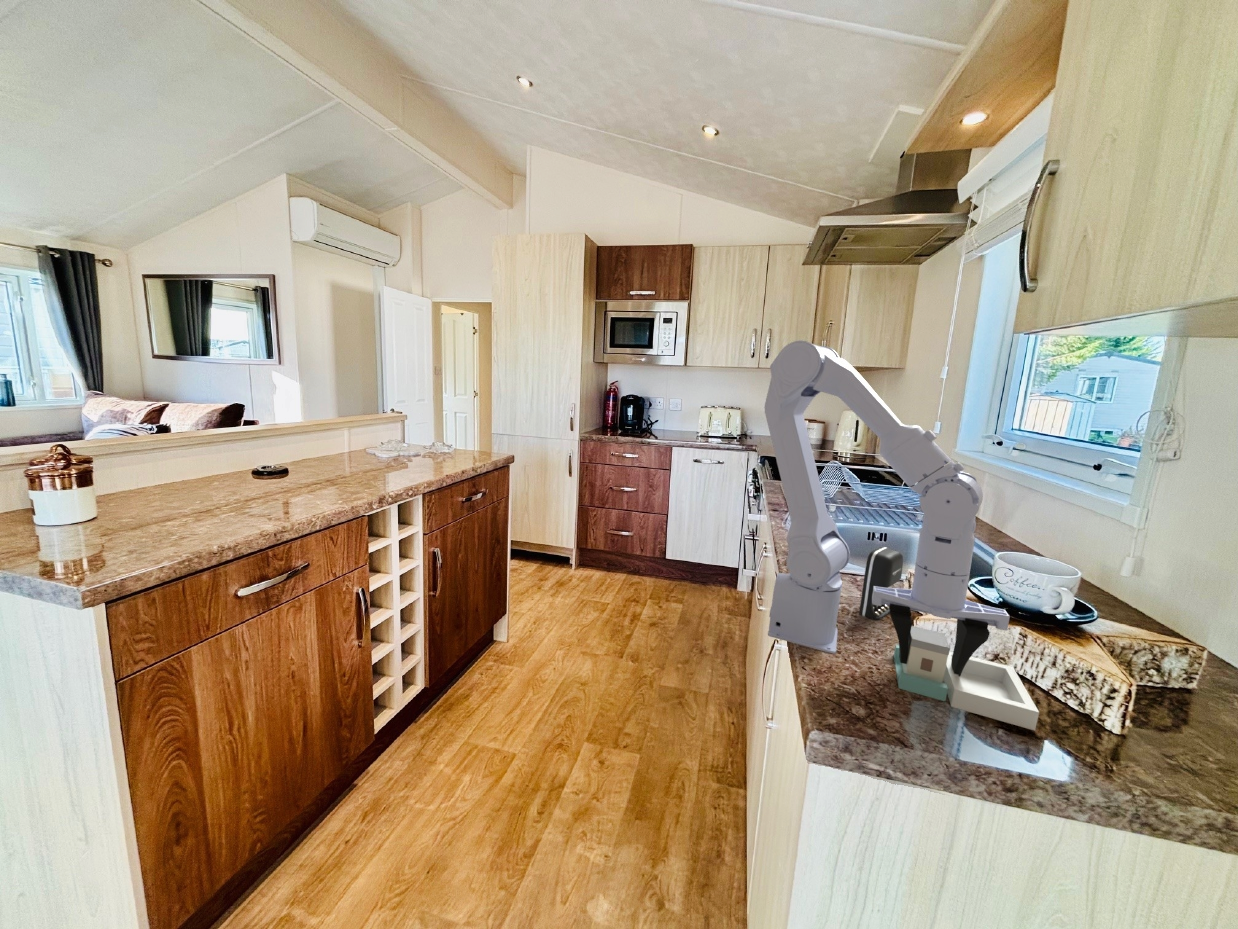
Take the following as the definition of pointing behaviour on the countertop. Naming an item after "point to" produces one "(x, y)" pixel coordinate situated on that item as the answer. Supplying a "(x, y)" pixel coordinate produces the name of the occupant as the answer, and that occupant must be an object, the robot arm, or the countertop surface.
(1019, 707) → the tray
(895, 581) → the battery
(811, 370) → the robot arm
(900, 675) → the holder
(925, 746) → the countertop surface
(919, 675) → the block
